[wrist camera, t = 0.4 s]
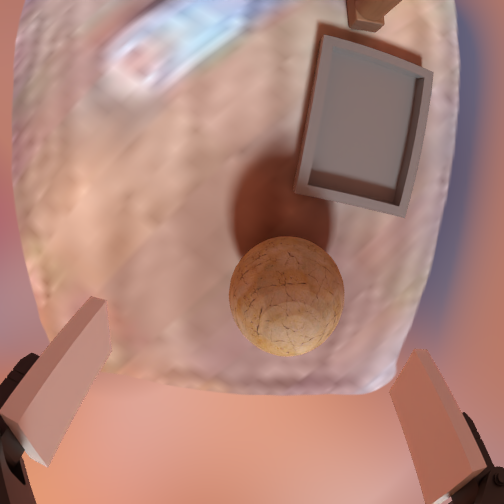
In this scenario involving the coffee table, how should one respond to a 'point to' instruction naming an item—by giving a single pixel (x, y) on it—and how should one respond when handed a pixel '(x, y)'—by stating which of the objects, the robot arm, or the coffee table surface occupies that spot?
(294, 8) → the coffee table surface
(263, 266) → the fossilized egg
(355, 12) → the brown wooden piece
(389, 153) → the tray
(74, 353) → the robot arm
